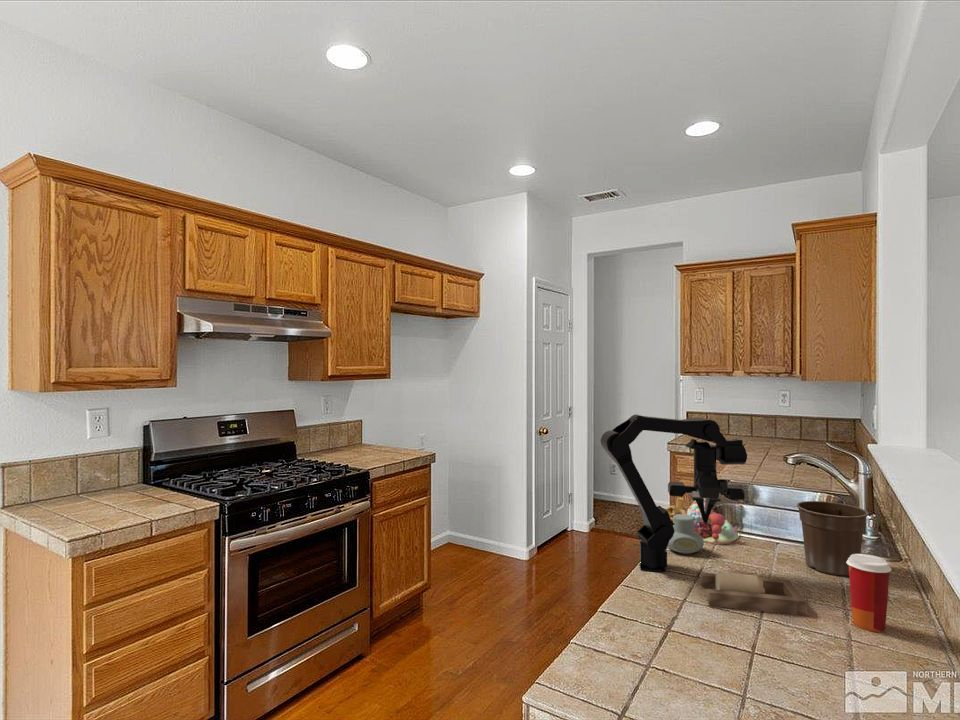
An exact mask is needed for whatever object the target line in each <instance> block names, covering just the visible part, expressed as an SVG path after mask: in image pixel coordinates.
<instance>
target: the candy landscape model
mask: <svg viewBox="0 0 960 720" xmlns="http://www.w3.org/2000/svg"><path fill="white" fill-rule="evenodd" d="M705 502H706V501H704V510H705ZM685 503H686V500H685V498H683V497H681V496H679V497H677V498H676V503H675V504H676V505H675V504H672V505H669V506H667V507H666V508H665V510H666V511H668V513H669V516H670V519H671V521H672V522H673V516H674V515H676V514H686V515H690V516H692V517H693V518H694V531H696V532H697V533H698V534H700V535H701V537H702V538H703V541H704V544H709V545H710V544H711V545H725V544H730V543H732V542H735V540H736V539H737V538H739V539H740V537H739V536H738V534H740V533H739V532H738V526H737V525H736V526H735V525H734V526H733V525H732V524H731V523H730V522H729V520H727V519H725V517H724V515H722V514H721V513H717V512H715V510H713V509H712V510H711V513H710V516H709V518H708V521H707V523H705V522H703V519H702V516H701V513H700V510H699V507H698V505H697V503H692V504H691V507H690V508H684V506H685ZM736 532H738V533H736ZM737 540H738V539H737ZM737 540H736V541H737Z"/></svg>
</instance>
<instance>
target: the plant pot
mask: <svg viewBox="0 0 960 720" xmlns="http://www.w3.org/2000/svg"><path fill="white" fill-rule="evenodd" d="M796 507H797V509H798V516H799V521H801V522H800V523H801V528H802V529H801V531H802V537H803V547H804V548H803V549H804V558H805V564H806V566H807V567H809V568H812V569H813V568H814V569H815V570H816V571H817V572H821V573H825V574H829V575H833V576H849V565H848V564H847V563H846V562H847V560H848V558H849V557H850V555H852V554H862V546H863V545H862V544H863V537H864V536H863V535H864V530H865V528H866V520H867V517H868V516H869V512H868V511H867V510H866V509H864V508H861V507H858V506H854V505H850V504H846V503H840V502H834V501H833V502H832V501H831V502H830V501H822V500H821V501H820V500H806V501H800V502H798V503H796Z"/></svg>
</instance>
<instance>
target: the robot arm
mask: <svg viewBox="0 0 960 720" xmlns="http://www.w3.org/2000/svg"><path fill="white" fill-rule="evenodd" d="M643 431H651V432H659V433H669V434H679V435H686V436H690V437H692V439H690V441H689V442H687V443H686V444H685V447H686V448H688V449H691V450H693V485H685V484H684V482H683V481H669V482H668V484H667V492H668V495H669V496H671V497H681V498H683V496H685V495H686V494H689V497H690V499H691V500H692V501H695V502H696V503H697V505H698V507H699V510H700V513H701V516H702V519H703V522H705V523H707V521H708V518H709V516H710V513H711V510H713V508H714V506H715V505H716V504H717V503H719V502H720V503H721V501H722V498H721V496H728V497H729V498H730V499H731V500H735V501H744V500H745V497H746V496H745V490H744V489H743V488H742V487H741V486H740V485H739V484H728V480H727V479H726V478H725V479H722V478H719V479H718V476H717V461H718V463H720V465H722V466H723V465H726V466H727V465H737V466H738V465H745V464H747V463H746V462H747V459H748V453H747V451H746V450H747V449H746V448H745V445H744V443H743V442H744V441H743V440H742V439H740V438H735V439H727V438H725V436H724V435H723V434H722V432H721V429H720V425H719V423H717V421H715V420H712V419H708V418H705V417H691V418H690V417H689V418H684V419H674V418H666V417H656V416H646V415H640V414H633V415H631V416H630V417H629V418H628V419H626V420H625V421H624V422H622V423H620V424H618V425H616V426H615V427H614V428H613V429H611V430H607V431H605V432H604V433H603V434H602V435H601V438H600V445H601V447H602V449H603V450H604V451H605V452H606V453H607V455H608V456H609V457H610V458H611V459H612V461H614V463H615V464H616V465H617V467H618V468H619V470H620V472H621V474H622V476H623V478H624V480H625V481H626V483H627V486H628V488H629V489H630V491H631V493H632V495H633V496H634V500H635V501H636V502H637V504H638V506H639V508H640V511H641V518H642V521H643V525H642V526H641V527H640V528H639V529H638V530H637V531H636V535H637V538H638V540H639V561H638V562H639V569H640V570H641V571H651V572H661V573H666V568H668V551H667V548H668V543H669V541H670V539H671V538H672V537H673V535H674V532H675V531H674V527H673V525H675V524H674V523H673V522H672V521H671V519H670V516H669V513H668V511H666V508H663V506H661V505H657V504H656V503H655V501H654V499H653V496H652V495H651V493H650V491H649V490H648V488H647V485H646V484H645V481H644V480H643V478H642V476H641V474H640V472H639V470H638V468H637V467H636V465H635V463H634V460H633V455H632V450H631V447H630V445H631V444H632V443H633V442H634V441H636V439H637V438H638V436H639V435H640V434H641V433H642V432H643ZM694 438H696V439H694ZM697 439H699V440H703V441H698V440H697ZM710 443H713V444H710ZM704 502H705V510H704ZM696 503H695V504H696ZM640 562H641V563H640Z"/></svg>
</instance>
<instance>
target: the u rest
mask: <svg viewBox="0 0 960 720" xmlns="http://www.w3.org/2000/svg"><path fill="white" fill-rule="evenodd" d="M757 577H758V576H757ZM715 578H716V573H711V572H700V586H701V587H702V589H707V603H708V606H709V607H716V608H719V607H720V608H728V609H729V608H730V609H740V610H746V611H747V610H748V611H758V612H771V613H780V614H788V615H789V614H790V615H800V616H808V600H807V599H806V598H804V596H803V595H802V593H801V592H800V591H799V590H798V588H796V586H795V585H794V584H793V583H792V581H791V579H783V578H780V579H778V578H769V577H758V578H759V579H760V580H761V581H763V588H764V589H765V594H757V593H746V592H735V591H724V590H716V582H715Z"/></svg>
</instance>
